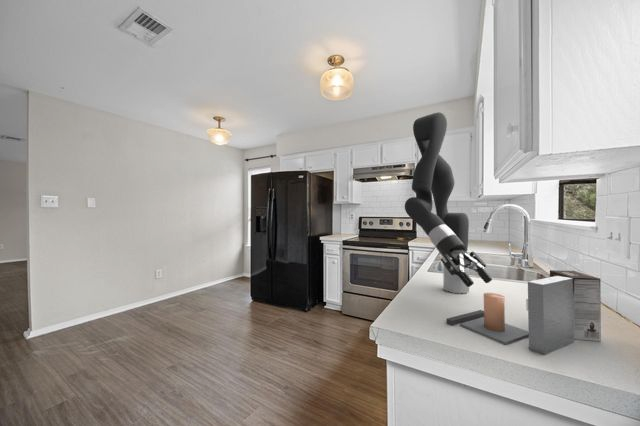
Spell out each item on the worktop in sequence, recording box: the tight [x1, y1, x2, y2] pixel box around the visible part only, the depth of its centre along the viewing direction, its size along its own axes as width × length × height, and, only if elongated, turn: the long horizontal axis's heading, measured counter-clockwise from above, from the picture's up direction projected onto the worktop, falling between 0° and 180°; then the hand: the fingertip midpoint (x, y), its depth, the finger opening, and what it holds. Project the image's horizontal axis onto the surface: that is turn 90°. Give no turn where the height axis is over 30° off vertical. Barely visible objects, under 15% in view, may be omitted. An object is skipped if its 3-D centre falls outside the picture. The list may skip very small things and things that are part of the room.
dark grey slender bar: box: [446, 309, 484, 327], centre depth 77 cm, size 16×2×2 cm, turn 115°
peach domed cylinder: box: [483, 292, 506, 332], centre depth 70 cm, size 5×5×9 cm
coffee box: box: [549, 269, 602, 342], centre depth 68 cm, size 9×6×16 cm
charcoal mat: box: [459, 317, 529, 346], centre depth 70 cm, size 12×12×1 cm
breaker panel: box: [525, 276, 575, 356], centre depth 62 cm, size 14×4×16 cm, turn 115°
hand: (480, 283), depth 74 cm, fingers open, 8 cm apart
